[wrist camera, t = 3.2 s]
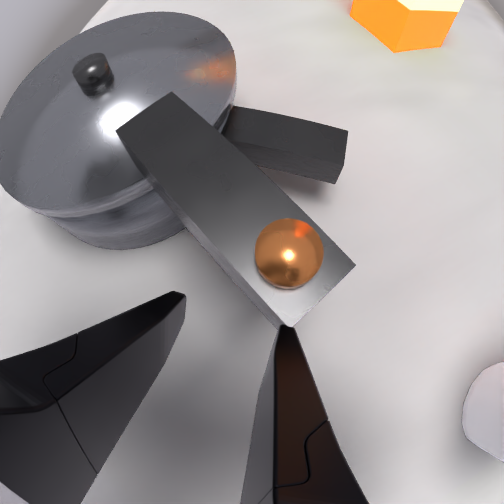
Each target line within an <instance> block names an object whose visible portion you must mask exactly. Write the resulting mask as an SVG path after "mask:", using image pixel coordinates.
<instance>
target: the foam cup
mask: <svg viewBox="0 0 504 504" xmlns="http://www.w3.org/2000/svg"><path fill="white" fill-rule="evenodd" d="M462 425H463V429H464V433H465V436H466V438H468V439H469V440H470V441H471V442H472V443H474V444H475V445H477V446H478V447H479V448H481V449H483V450H484V451H486V452H488V453H489V454H491V455H492V456H494V457H496V458H497V459H499V460H501V461H502V462H504V362H500V363H498V364H494V365H492V366H490V367H488V368H486V369H484V370H483V371H482V372H481V373H480V374H479V376H478V377H477V378H476V379H475V381H474V382H473V383H472V384H471V387H470V389H469V392H468V394H467V396H466V399H465V401H464V404H463V414H462Z"/></svg>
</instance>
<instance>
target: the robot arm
mask: <svg viewBox="0 0 504 504" xmlns="http://www.w3.org/2000/svg"><path fill="white" fill-rule="evenodd" d="M185 310H186V296H185V294H182V293H179V292H176V291H171V292H169V293H166V294H164V295H162V296H160V297H157V298H155V299H153V300H151V301H148V302H146V303H144V304H142V305H139V306H137V307H135V308H133V309H130V310H128V311H126V312H124V313H121V314H119V315H117V316H114V317H112V318H110V319H108V320H105V321H103V322H101V323H99V324H96V325H94V326H92V327H90V328H87V329H85V330H83V331H80V332H79V333H78V334H77V333H76V334H73V335H71V336H69V337H67V338H64V339H62V340H59V341H57V342H54V343H52V344H49V345H46V346H44V347H41V348H38V349H35V350H32V351H29V352H26V353H23V354H19V355H16V356H13V357H10V358H7V359H3V360H0V504H81V502H82V500H83V499H84V497H85V495H86V494H87V492H88V490H89V488H90V487H91V485H92V483H93V482H94V480H95V478H96V477H97V474H98V473H99V471H100V470H101V468H102V466H103V465H104V463H105V461H106V460H107V458H108V456H109V455H110V453H111V451H112V450H113V448H114V446H115V445H116V443H117V441H118V440H119V438H120V436H121V435H122V433H123V431H124V430H125V428H126V426H127V425H128V423H129V421H130V420H131V418H132V416H133V415H134V413H135V412H136V410H137V408H138V407H139V405H140V403H141V402H142V400H143V398H144V397H145V395H146V394H147V392H148V390H149V389H150V387H151V385H152V384H153V382H154V381H155V379H156V377H157V376H158V374H159V372H160V371H161V369H162V367H163V366H164V364H165V362H166V360H167V357H168V355H169V353H170V351H171V349H172V346H173V344H174V342H175V340H176V338H177V336H178V333H179V331H180V329H181V327H182V325H183V322H184V319H185ZM240 504H369V503H368V501H367V499H366V497H365V495H364V494H363V492H362V490H361V488H360V486H359V484H358V482H357V480H356V478H355V477H354V475H353V473H352V471H351V469H350V467H349V465H348V463H347V461H346V459H345V457H344V455H343V453H342V451H341V449H340V447H339V444H338V442H337V439H336V437H335V435H334V432H333V429H332V426H331V424H330V421H329V420H328V416H327V413H326V410H325V408H324V405H323V402H322V400H321V397H320V394H319V392H318V389H317V386H316V384H315V381H314V378H313V375H312V373H311V370H310V367H309V365H308V362H307V359H306V357H305V354H304V351H303V349H302V346H301V344H300V341H299V338H298V336H297V333H296V330H295V328H294V327H289V326H287V325H284V324H281V325H280V326H279V328H278V331H277V334H276V337H275V340H274V343H273V346H272V350H271V353H270V357H269V360H268V364H267V367H266V370H265V374H264V377H263V381H262V384H261V387H260V391H259V395H258V400H257V406H256V413H255V419H254V425H253V431H252V437H251V443H250V449H249V455H248V461H247V467H246V473H245V479H244V484H243V490H242V496H241V501H240Z"/></svg>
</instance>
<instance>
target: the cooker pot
mask: <svg viewBox="0 0 504 504" xmlns="http://www.w3.org/2000/svg"><path fill="white" fill-rule="evenodd" d="M218 132H219V133H221V134H222V135H223V136H224V137H225V138H226V139H227V140H228V141H230V142H231V143H232V144H233V145H234V146H235V147H236V148H237V149H238V150H239V151H241V152H242V153H243V154H244V155H245V156H246V157H247V158H248V159H249V160H250V161H251V162H252V163H254V164H255V165H257V166H262V167H266V168H271V169H275V170H280V171H284V172H288V173H292V174H297V175H301V176H305V177H309V178H313V179H317V180H321V181H324V182H328V183H332V184H335V183H336V181H337V179H338V177H339V175H340V173H341V170H342V168H343V166H344V159H345V152H346V144H347V136H348V131H346V130H343V129H339V128H335V127H331V126H328V125H324V124H320V123H316V122H312V121H307V120H303V119H299V118H294V117H290V116H285V115H281V114H276V113H271V112H266V111H260V110H255V109H249V108H244V107H238V106H233V104H232V106H231V108H230V111H229V113H228V116H227V117H226V119H225V121H224V122H223V124H222V126H221V127H220V129H219V131H218ZM46 216H47V215H46ZM48 217H49V218H50V219H52V220H53V221H54V222H56V223H57V224H59V225H60V226H61V227H63V228H64V229H66V230H67V231H68V232H70V233H71V234H73V235H74V236H75V237H77V238H79V239H80V240H82V241H84V242H86V243H88V244H91V245H93V246H96V247H100V248H105V249H116V250H124V249H135V248H139V247H144V246H148V245H151V244H154V243H157V242H160V241H162V240H164V239H166V238H168V237H170V236H172V235H175V234H176V233H178V232H180V231H181V230H183V229H184V228H186V226H185V225H184V224H183V223H182V222H181V221H180V219H179V218H178V217H177V216H176V215H175V214H174V212H173V211H172V210H171V209H170V208H169V206H168V205H167V204H166V203H165V202H164V201H163V199H162V198H161V197H160V196H159V195H158V193H157V192H156V191H155V190H154V189H153V190H151V191H149V192H147V193H145V194H144V195H142V196H140V197H139V198H136V199H134V200H132V201H130V202H127V203H125V204H123V205H121V206H118V207H115V208H112V209H109V210H106V211H103V212H100V213H96V214H91V215H86V216H81V217H66V218H63V217H52V216H48Z"/></svg>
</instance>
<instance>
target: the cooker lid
mask: <svg viewBox="0 0 504 504" xmlns="http://www.w3.org/2000/svg"><path fill="white" fill-rule="evenodd" d="M236 80H237V75H236V61H235V55H234V50H233V48H232V46H231V44H230V42H229V40H228V39H227V37H226V36H225V35H224V34H223V33H222V32H221V31H220V30H219V29H218V28H217V27H215V26H214V25H212V24H211V23H209V22H207V21H205V20H203V19H200V18H198V17H195V16H191V15H188V14H182V13H176V12H147V13H139V14H133V15H129V16H124V17H120V18H117V19H114V20H110V21H108V22H105V23H102V24H100V25H97V26H95V27H93V28H91V29H88V30H86V31H84V32H82V33H81V34H79V35H77V36H75V37H73V38H72V39H71V40H69V41H67V42H66V43H64V44H63V45H61V46H60V47H58V48H57V49H56V50H54V51H53V52H52V53H50V54H49V55H48V56H47V57H46V58H45V59H43V60H42V61H41V62H40V63H39V64H38V65H37V66H36V67H35V68H34V69H33V70H32V71H31V72H30V73H29V74H28V76H27V77H26V78H25V79H24V80H23V81H22V83H21V84H20V85H19V87H18V88H17V90H16V91H15V92H14V94H13V95H12V97H11V99H10V100H9V102H8V104H7V106H6V108H5V110H4V112H3V114H2V116H1V119H0V184H1V185H2V186H3V188H4V189H5V191H6V192H8V193H9V194H10V195H11V196H12V197H13V198H14V199H16V200H17V201H19V202H20V203H21V204H23V205H24V206H25V207H27V208H29V209H31V210H33V211H34V212H36V213H40V214H43V215H47V216H52V217H63V218H66V217H81V216H86V215H91V214H96V213H100V212H103V211H106V210H109V209H112V208H115V207H118V206H121V205H123V204H125V203H127V202H130V201H132V200H134V199H136V198H139V197H140V196H142V195H144V194H145V193H147V192H149V191H151V190H153V189H154V190H155V191H156V192H157V193H158V195H159V196H160V197H161V198H162V199H163V201H164V202H165V203H166V204H167V205H168V206H169V208H170V209H171V210H172V211H173V212H174V214H175V215H176V216H177V217H178V218H179V219H180V221H181V222H182V223H183V224H184V225H185V226H186V228H187V229H188V230H189V231H190V232H191V233H192V234H193V236H194V237H195V238H196V239H197V240H198V241H199V243H200V244H201V245H202V246H203V247H204V248H205V249H206V251H207V252H208V253H209V254H210V255H211V256H212V257H213V259H214V260H215V261H216V262H217V263H218V264H219V265H220V266H221V268H222V269H223V270H224V271H225V272H226V273H227V274H228V276H229V277H230V278H231V279H232V280H233V281H234V282H235V283H236V284H237V286H238V287H239V288H240V289H241V290H242V291H243V292H244V293H245V295H246V296H247V297H248V298H249V299H250V300H251V301H252V302H253V303H254V305H255V306H256V307H257V308H258V309H259V310H260V311H261V312H262V313H263V314H264V316H265V317H266V318H267V319H268V320H269V321H270V322H271V323H272V324H273V325H274V326H275V328H276V329H277V330H278V328H279V326H280V325H281V324H284V325H287V326H289V327H293V326H294V325H295V324H296V323H297V322H298V321H299V320H300V319H301V318H302V317H303V316H305V315H306V314H307V313H308V312H309V311H310V310H311V309H312V308H313V307H314V306H315V305H316V304H317V303H318V302H319V301H320V300H321V299H322V298H323V297H324V296H326V295H327V294H328V293H329V292H330V291H331V290H332V289H333V288H334V287H335V286H336V285H337V284H338V283H339V282H340V281H341V280H342V279H343V278H344V277H345V276H346V275H347V274H348V273H349V272H350V271H351V270H352V269H353V268H354V267H355V266H356V265H355V264H354V263H353V262H352V261H351V259H350V258H349V257H348V256H347V255H346V254H345V253H344V252H343V251H342V250H341V249H340V248H339V247H338V246H337V245H336V244H335V243H334V242H333V241H332V240H331V239H330V238H329V237H328V236H327V235H326V234H325V233H324V232H323V230H322V229H321V228H320V227H319V226H318V225H317V224H316V223H315V222H314V221H313V220H312V219H311V218H310V217H309V216H308V215H307V214H306V213H305V212H304V211H303V210H302V209H301V208H300V207H299V206H297V205H296V204H295V203H294V202H293V201H292V200H291V199H290V198H289V197H288V196H287V195H286V194H285V193H284V192H283V191H282V190H281V189H280V188H279V187H278V186H277V185H276V184H275V183H274V182H273V181H272V180H271V179H270V178H268V177H267V176H266V175H265V174H264V173H263V172H262V171H261V170H260V169H259V168H258V167H257V166H256V165H255V164H254V163H252V162H251V161H250V160H249V159H248V158H247V157H246V156H245V155H244V154H243V153H242V152H241V151H239V150H238V149H237V148H236V147H235V146H234V145H233V144H232V143H231V142H230V141H228V140H227V139H226V138H225V137H224V136H223V135H222V134H221V133H219V132H218V131H219V129H220V127H221V126H222V124H223V122H224V121H225V119H226V117H227V116H228V113H229V111H230V108H231V106H232V104H233V101H234V96H235V92H236Z"/></svg>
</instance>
